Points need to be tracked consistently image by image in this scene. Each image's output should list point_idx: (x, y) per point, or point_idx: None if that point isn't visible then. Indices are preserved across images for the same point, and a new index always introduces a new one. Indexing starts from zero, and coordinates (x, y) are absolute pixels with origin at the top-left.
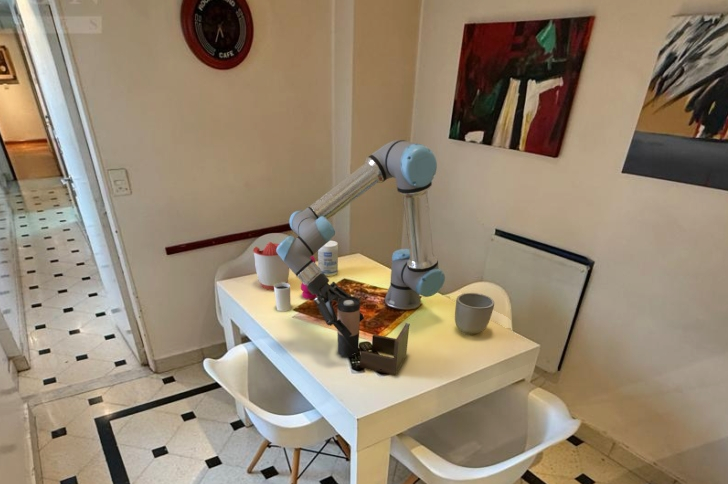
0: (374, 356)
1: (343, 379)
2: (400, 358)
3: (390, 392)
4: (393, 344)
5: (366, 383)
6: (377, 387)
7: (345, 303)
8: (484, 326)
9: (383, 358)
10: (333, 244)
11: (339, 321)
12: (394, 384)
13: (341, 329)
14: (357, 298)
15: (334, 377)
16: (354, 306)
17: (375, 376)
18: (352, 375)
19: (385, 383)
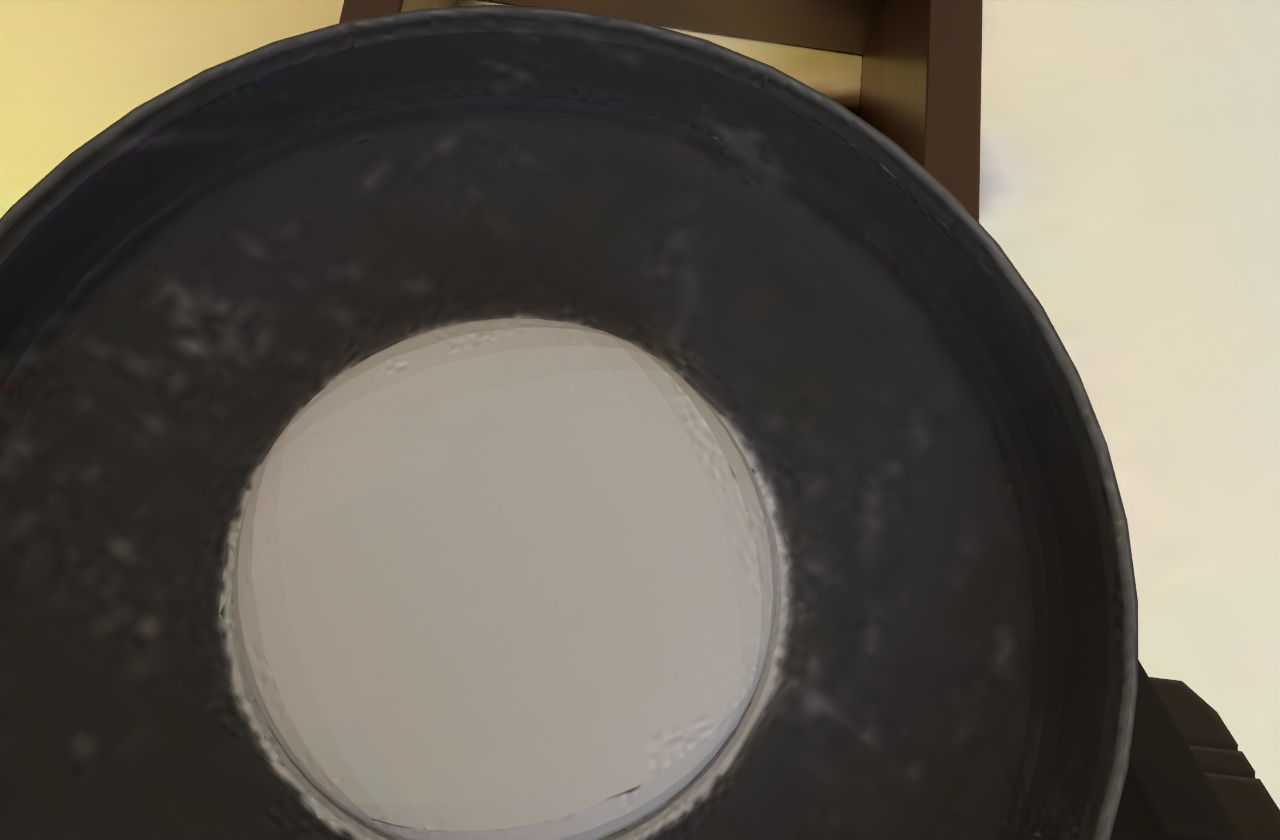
0: (973, 160)
1: (1236, 603)
2: None
3: (1240, 40)
4: (421, 3)
5: (1193, 306)
6: (1214, 177)
7: (735, 699)
8: None
9: (975, 37)
10: None
11: (1210, 798)
12: (1081, 18)
13: (1185, 705)
14: (67, 167)
15: (1246, 739)
16: (908, 190)
17: (1009, 232)
18: None
19: (1102, 107)
